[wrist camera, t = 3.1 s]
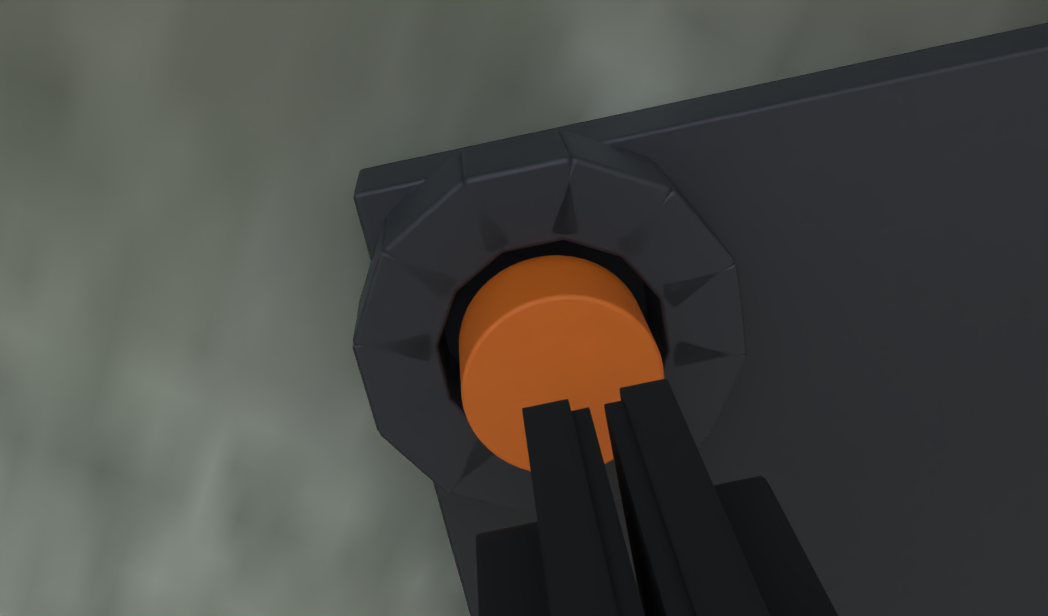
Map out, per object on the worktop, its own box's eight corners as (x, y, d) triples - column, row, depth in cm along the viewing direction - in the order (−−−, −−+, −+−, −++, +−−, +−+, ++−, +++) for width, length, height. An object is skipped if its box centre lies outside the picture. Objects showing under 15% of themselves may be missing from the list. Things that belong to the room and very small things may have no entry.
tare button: (480, 437, 16) (484, 494, 14) (439, 276, 14) (440, 320, 13) (655, 400, 16) (677, 453, 14) (628, 235, 14) (650, 275, 13)
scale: (506, 768, 22) (516, 895, 19) (331, 153, 16) (310, 212, 13) (1226, 616, 22) (1339, 722, 19) (1316, -58, 16) (1496, -42, 13)
